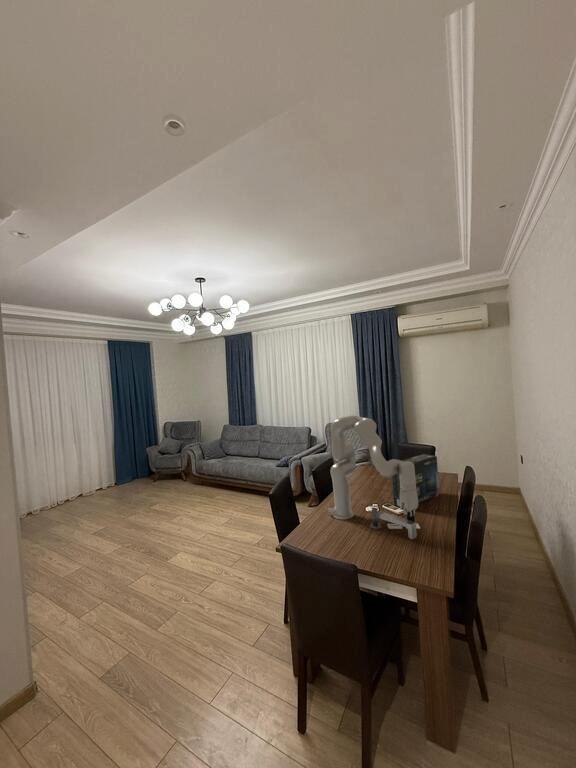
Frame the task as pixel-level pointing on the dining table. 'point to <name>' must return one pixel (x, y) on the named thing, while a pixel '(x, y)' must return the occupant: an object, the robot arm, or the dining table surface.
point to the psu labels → (399, 526)
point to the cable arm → (399, 522)
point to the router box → (420, 479)
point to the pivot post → (375, 520)
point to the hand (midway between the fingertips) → (411, 523)
